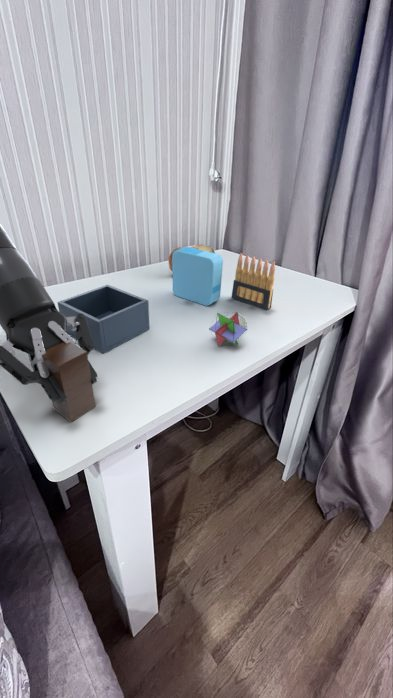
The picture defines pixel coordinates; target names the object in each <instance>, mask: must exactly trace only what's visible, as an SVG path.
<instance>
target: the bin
mask: <svg viewBox="0 0 393 698" xmlns="http://www.w3.org/2000/svg"><path fill="white" fill-rule="evenodd" d="M56 303H57V307H58V311H59V312H60V313H61V314H63V315H64V316H65V317H74V316H77V315H78V314H79V313H82V314H84V316H85V318H86V321H87V325H88V328H89V331H90V334H91V337H92V340H93V344H94V349H93V350H95V351H96V352H99V353H101V354H105V353H107V352H110V351H111V350H113V349H116V348H117V347H119V346H120V345H123V344H124V343H126V342H129V341H130V340H132V339H134V338H135V337H138V336H140V335H142V334H144V333H146V332H147V331H149V330H150V310H149V309H150V308H149V300H148V299H146V298H143V297H141V296H138V295H135V294H133V293H130V292H128V291H126V290H124V289H123V290H122V289H120V288H118V287H116V286H112V285H110V284H105V285H101V286H99V287H96V288H94V289H91V290H88V291H85V292H82V293H80V294H77V295H73V296H71V297H68V298H66V299H65V298H64V299H62V300H60V301H57V302H56ZM66 333H67V334H68V335H69V336H70V337H71V338H73V339H74V340H77V337H76V334H75V331H72V330H71V328H70V327H69V326H68V325H67V331H66Z"/></svg>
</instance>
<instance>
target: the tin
mask: <svg viewBox="0 0 393 698" xmlns="http://www.w3.org/2000/svg"><path fill="white" fill-rule="evenodd" d="M184 247H185V246H180V247H177V248H175V249H174V250H172V251H171V252H170V254H169V257H168V268H169V270H170V271H171V272H172V273H173V253H174V251H176V250H179V249H181V248H184ZM186 247H191V248H195V249H199V250H203V251H207V252H212V253H216V252H215V250H214V249H213V247H211V246H209V245H206V244H195V245H187V246H186Z"/></svg>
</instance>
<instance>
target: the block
mask: <svg viewBox="0 0 393 698" xmlns="http://www.w3.org/2000/svg"><path fill="white" fill-rule="evenodd" d="M78 346H79V345H78ZM78 346H76V345H74V344H72V343H71V342H69V343H61V344H59V345H57V346H55V347H52V348H50V349H48V350H46V351H45V354H43V355H42V357H43V359H44V362H45V364H46V365H47V367H48V369H49V372H50V376H52V375H53V377H54V378H55V380H56V381H57V383H58V384H59V386H60V388H61V389H62V391H63V392H64V394H65V395H66V397H67V399H66V400H65V401H64V402H62V403H60V404H58V403H57V401H55V402H53V401H51V404H52V409H53V410H54V411H56V412H57V413H58V414H60V415H61V416H62V417H63V418H65V419H66V420H67V421H69V422H70V423H72V422H74V421H75V420H77V419H78V418H80V417H81V416H83V415H84V414H86V413H88V412H89V411H91V410H92V409H94V408H95V407H96V406H97V405H96V398H95V393H94V388H93V385H92V381H91V374H90V368H89V362H90V361H89V362H88V360H89V355H87V352H86V351H85V350H83V349H81V348H79V347H78Z"/></svg>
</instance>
